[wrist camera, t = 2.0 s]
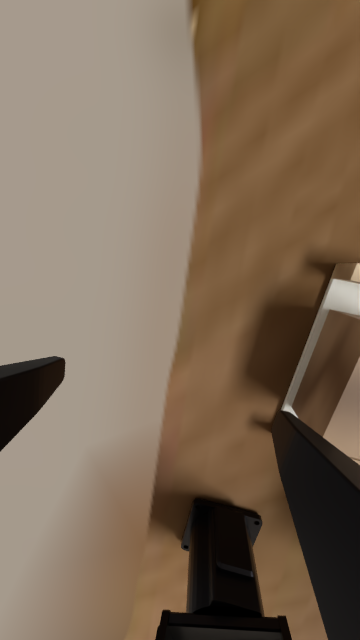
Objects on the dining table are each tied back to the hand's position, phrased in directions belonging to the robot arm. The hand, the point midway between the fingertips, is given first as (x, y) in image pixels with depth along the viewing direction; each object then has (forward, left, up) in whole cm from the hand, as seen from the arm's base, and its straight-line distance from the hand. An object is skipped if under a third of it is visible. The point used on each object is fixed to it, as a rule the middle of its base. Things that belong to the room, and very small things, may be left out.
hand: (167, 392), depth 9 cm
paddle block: (0, -11, -8) cm, 13 cm away
